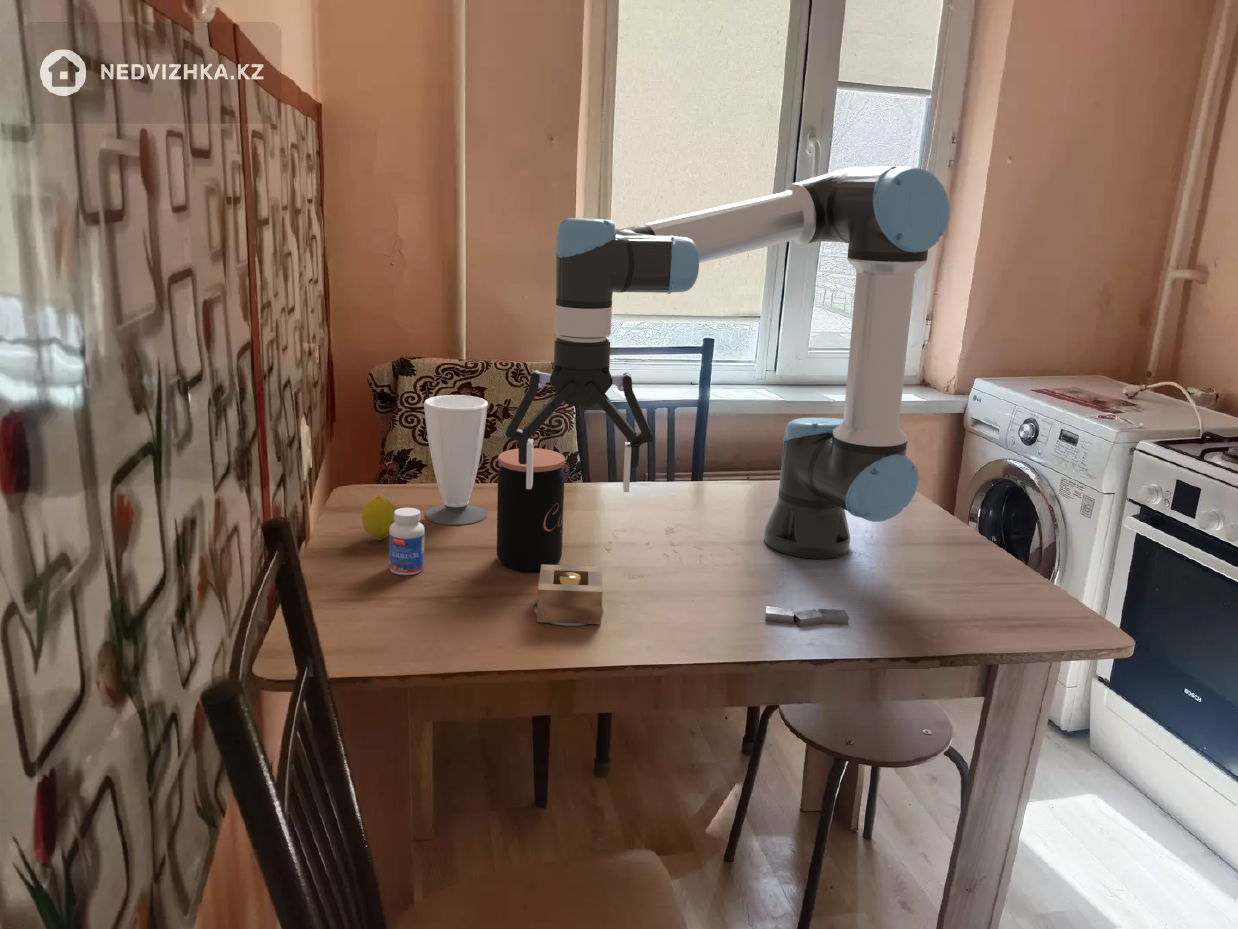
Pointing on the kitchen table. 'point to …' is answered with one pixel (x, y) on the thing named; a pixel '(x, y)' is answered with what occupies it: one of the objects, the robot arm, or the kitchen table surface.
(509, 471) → the coffee jar
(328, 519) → the kitchen table surface
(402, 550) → the pill bottle
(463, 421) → the cup
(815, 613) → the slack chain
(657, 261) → the robot arm
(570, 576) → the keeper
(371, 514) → the lemon
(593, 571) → the square wooden ring block
